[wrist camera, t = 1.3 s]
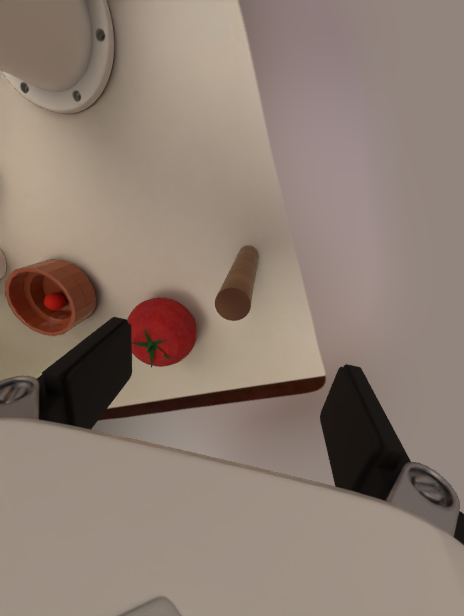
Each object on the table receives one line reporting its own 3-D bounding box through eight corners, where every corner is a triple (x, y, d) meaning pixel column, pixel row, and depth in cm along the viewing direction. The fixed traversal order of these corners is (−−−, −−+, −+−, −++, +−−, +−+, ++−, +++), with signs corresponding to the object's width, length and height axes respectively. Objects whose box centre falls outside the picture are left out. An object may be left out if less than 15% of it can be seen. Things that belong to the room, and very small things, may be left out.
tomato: (214, 332, 36) (200, 368, 28) (164, 354, 38) (139, 391, 31) (180, 278, 33) (155, 302, 26) (129, 305, 36) (93, 333, 28)
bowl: (51, 243, 33) (17, 251, 29) (110, 287, 35) (86, 301, 30) (29, 292, 37) (-4, 306, 32) (84, 329, 38) (59, 348, 34)
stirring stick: (247, 241, 30) (229, 280, 16) (262, 254, 30) (258, 303, 17) (234, 256, 31) (207, 305, 17) (249, 269, 31) (235, 327, 18)
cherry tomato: (56, 286, 35) (42, 292, 33) (72, 297, 35) (59, 304, 33) (50, 298, 36) (36, 305, 34) (65, 309, 36) (52, 316, 34)
